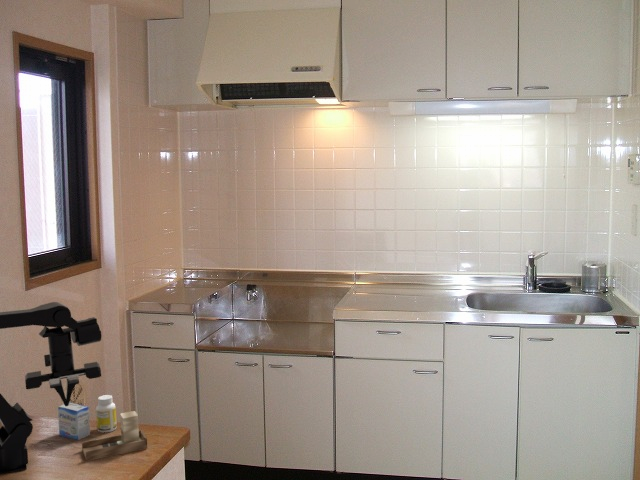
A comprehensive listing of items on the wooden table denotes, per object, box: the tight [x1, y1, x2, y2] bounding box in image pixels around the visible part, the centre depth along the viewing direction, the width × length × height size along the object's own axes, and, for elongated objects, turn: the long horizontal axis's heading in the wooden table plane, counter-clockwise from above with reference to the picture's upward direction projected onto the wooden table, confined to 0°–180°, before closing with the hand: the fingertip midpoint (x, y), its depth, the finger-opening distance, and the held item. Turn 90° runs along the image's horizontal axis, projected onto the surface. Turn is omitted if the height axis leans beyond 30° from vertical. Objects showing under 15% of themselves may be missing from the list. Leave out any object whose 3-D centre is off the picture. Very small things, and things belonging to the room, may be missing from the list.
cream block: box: [119, 410, 140, 444], centre depth 187 cm, size 4×4×8 cm
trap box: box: [81, 428, 148, 462], centre depth 186 cm, size 16×7×3 cm, turn 117°
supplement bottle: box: [95, 394, 117, 433], centre depth 199 cm, size 5×5×10 cm
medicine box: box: [57, 402, 91, 441], centre depth 196 cm, size 8×4×9 cm, turn 62°
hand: (66, 405), depth 183 cm, fingers closed
